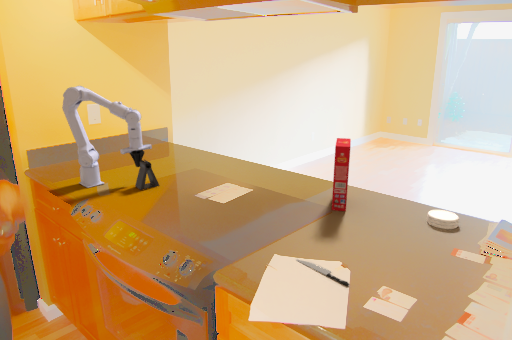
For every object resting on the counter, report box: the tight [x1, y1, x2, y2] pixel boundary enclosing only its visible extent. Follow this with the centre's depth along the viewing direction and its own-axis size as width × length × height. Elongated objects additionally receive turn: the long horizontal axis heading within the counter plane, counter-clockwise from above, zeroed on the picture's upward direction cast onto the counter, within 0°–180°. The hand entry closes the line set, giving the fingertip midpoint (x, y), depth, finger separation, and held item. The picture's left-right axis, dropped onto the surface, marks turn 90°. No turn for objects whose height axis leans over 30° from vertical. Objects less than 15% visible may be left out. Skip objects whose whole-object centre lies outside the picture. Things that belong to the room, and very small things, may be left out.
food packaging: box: [331, 137, 352, 212], centre depth 146 cm, size 15×5×25 cm, turn 166°
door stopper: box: [135, 159, 160, 191], centre depth 168 cm, size 9×6×12 cm, turn 128°
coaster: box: [426, 209, 460, 230], centre depth 131 cm, size 10×10×4 cm
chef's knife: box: [295, 259, 350, 287], centre depth 103 cm, size 19×1×3 cm
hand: (138, 166), depth 172 cm, fingers closed
